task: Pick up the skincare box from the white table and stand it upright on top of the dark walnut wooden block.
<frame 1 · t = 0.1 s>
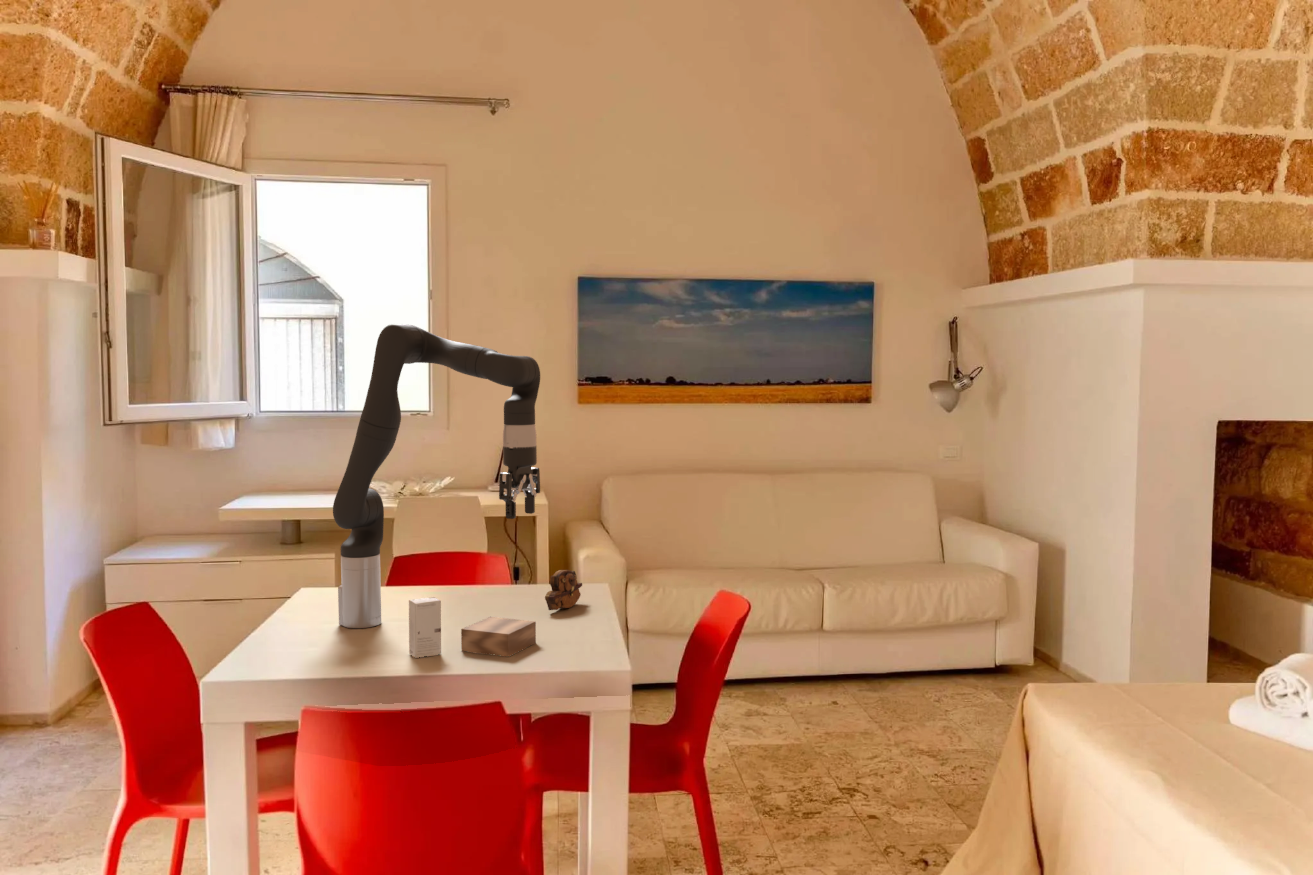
hand: (520, 515, 227), 29 cm above the table, tool pointing down, fingers open, 8 cm apart
skincare box: (425, 655, 220), on the table
wooden carving: (565, 609, 262), on the table
walnut block: (499, 646, 225), on the table
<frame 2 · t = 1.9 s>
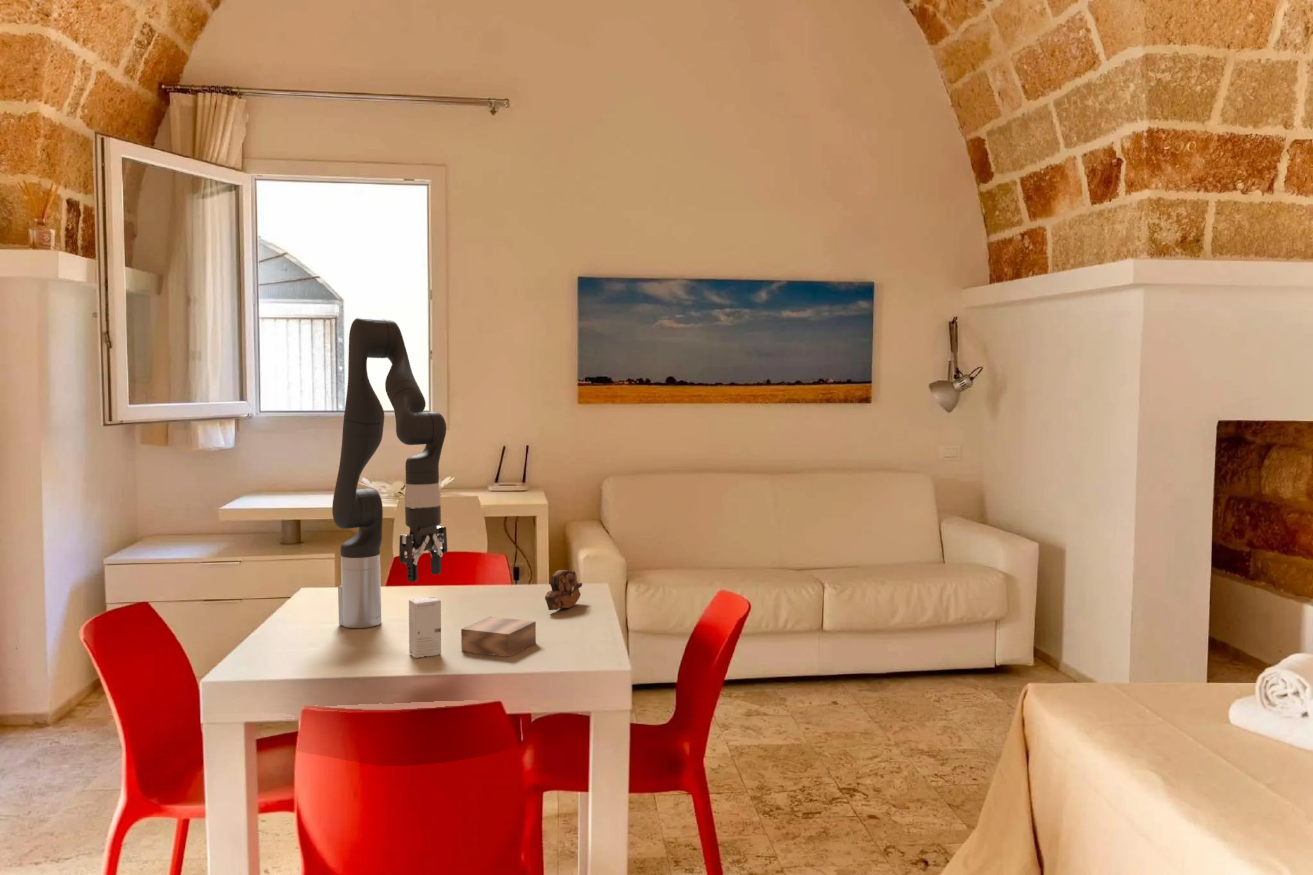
hand: (424, 577, 219), 17 cm above the table, tool pointing down, fingers open, 8 cm apart
nothing on the table moved.
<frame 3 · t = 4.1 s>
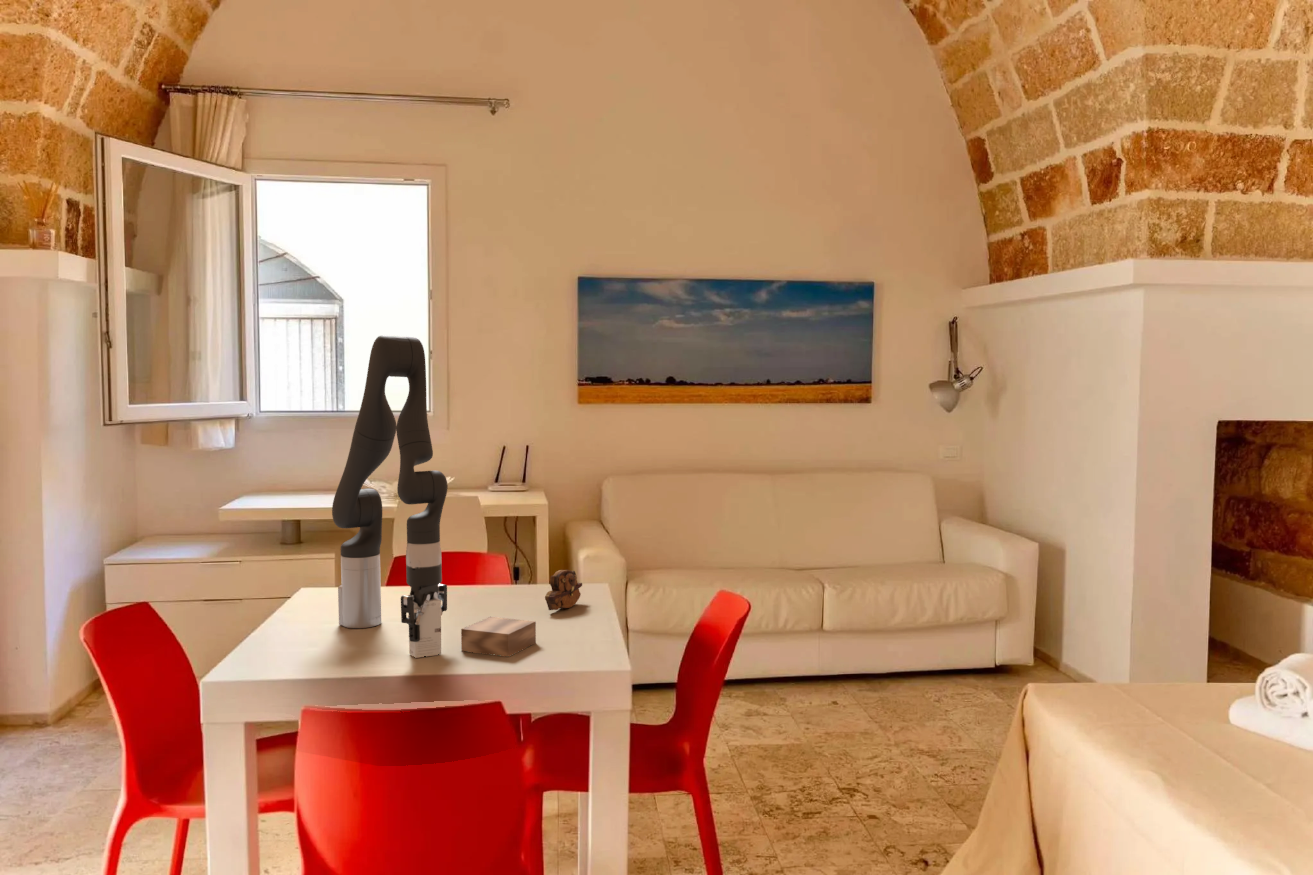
hand: (425, 636, 219), 4 cm above the table, tool pointing down, fingers closed on skincare box, 7 cm apart
skincare box: (425, 655, 220), on the table, touching gripper
everything else where it was.
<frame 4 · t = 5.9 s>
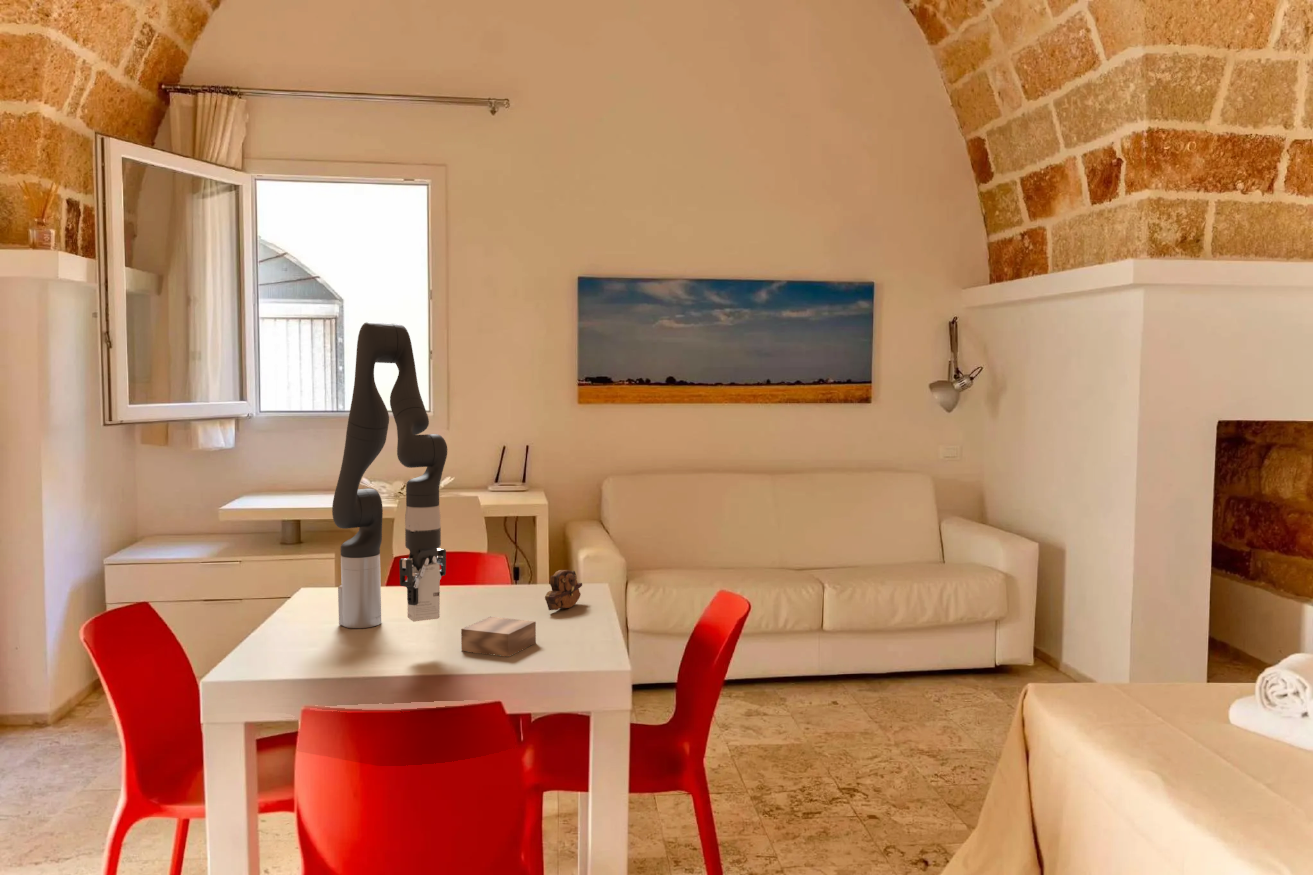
hand: (423, 600, 219), 12 cm above the table, tool pointing down, fingers closed on skincare box, 7 cm apart
skincare box: (423, 619, 219), point 8 cm above the table, touching gripper
everything else where it was.
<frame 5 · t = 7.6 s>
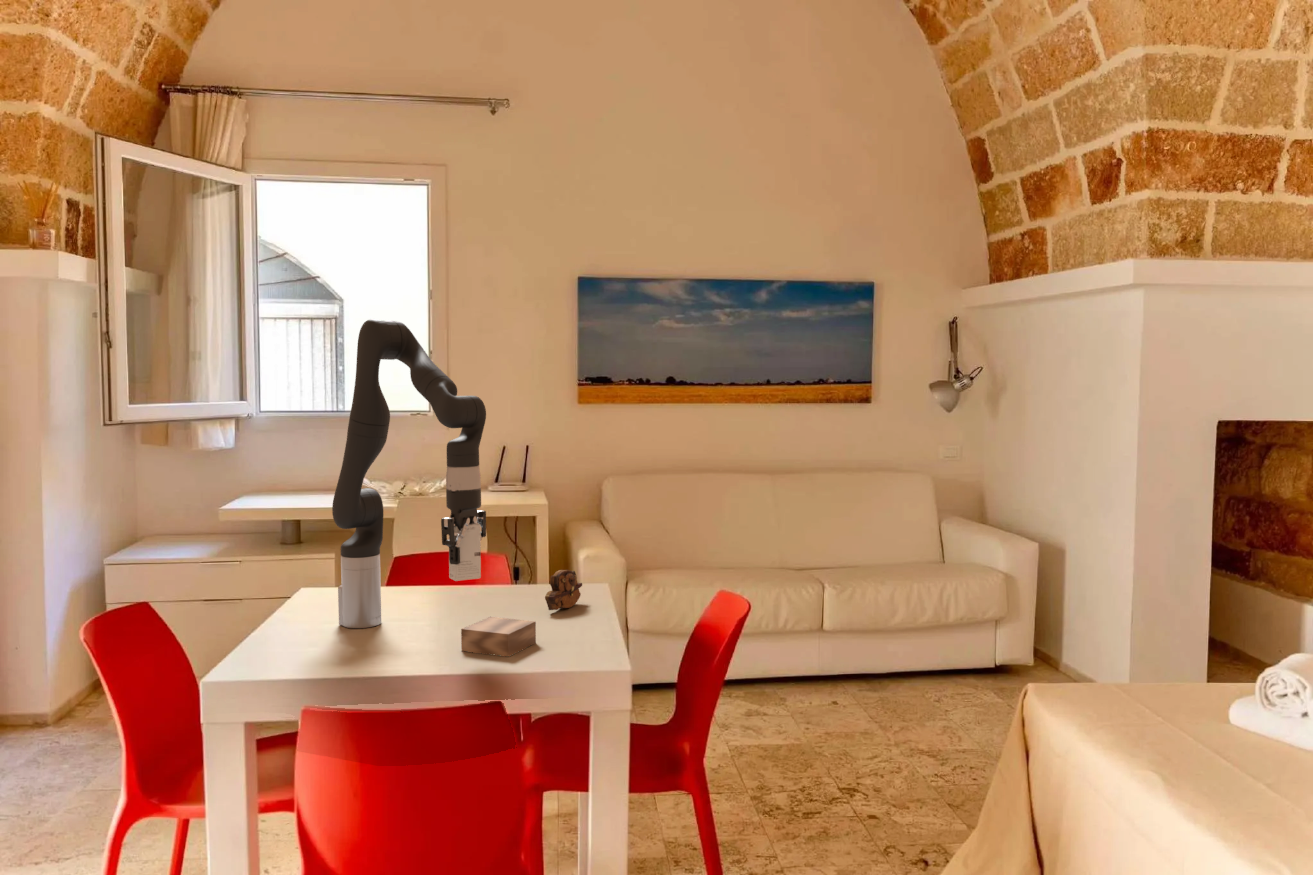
hand: (465, 560, 221), 20 cm above the table, tool pointing down, fingers closed on skincare box, 7 cm apart
skincare box: (465, 579, 221), point 16 cm above the table, touching gripper
everything else where it was.
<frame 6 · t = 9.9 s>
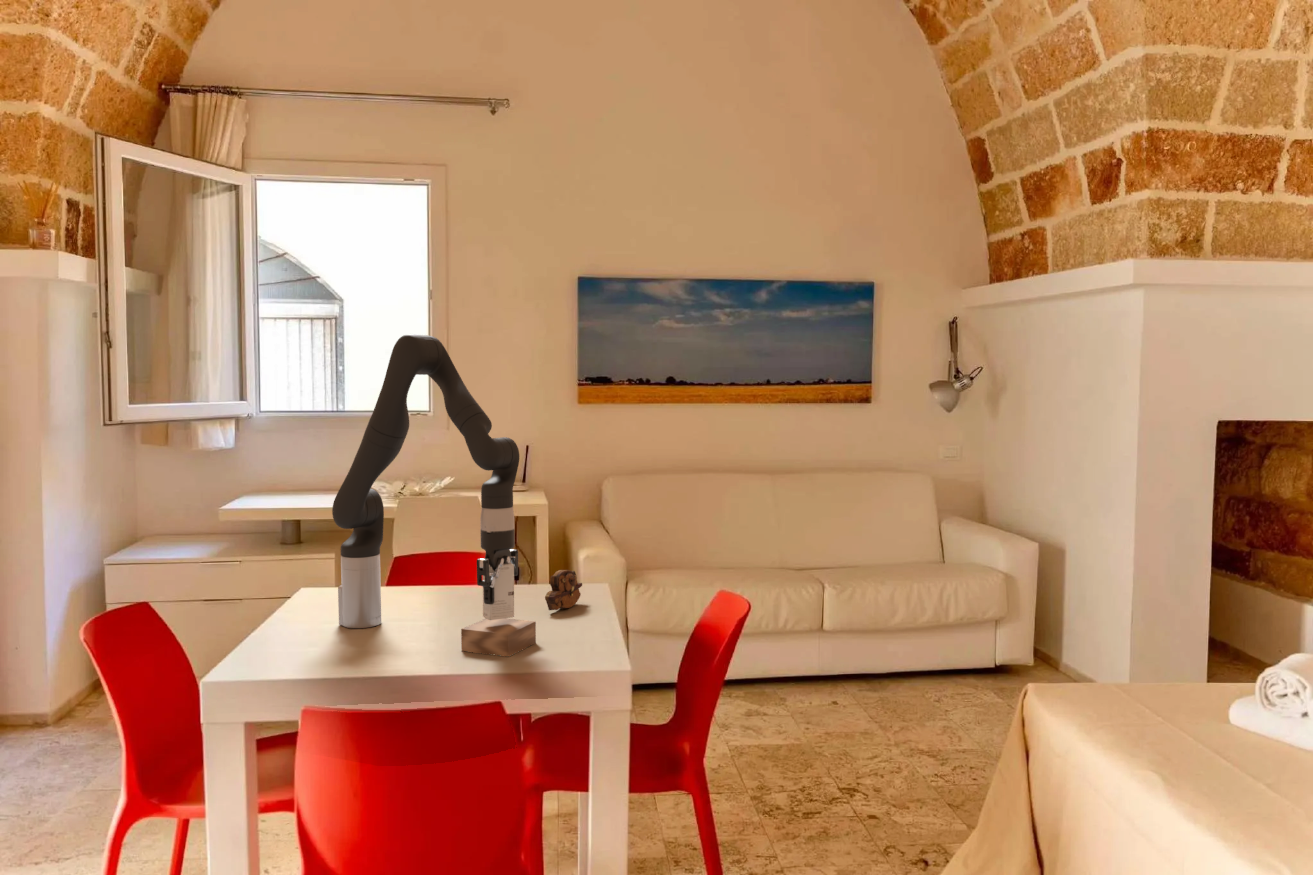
hand: (498, 599, 225), 11 cm above the table, tool pointing down, fingers closed on skincare box, 7 cm apart
skincare box: (498, 617, 225), point 7 cm above the table, touching gripper
everything else where it was.
when the fingers open (10 cm above the table, at t = 11.1 s): skincare box drops 1 cm, resting on walnut block.
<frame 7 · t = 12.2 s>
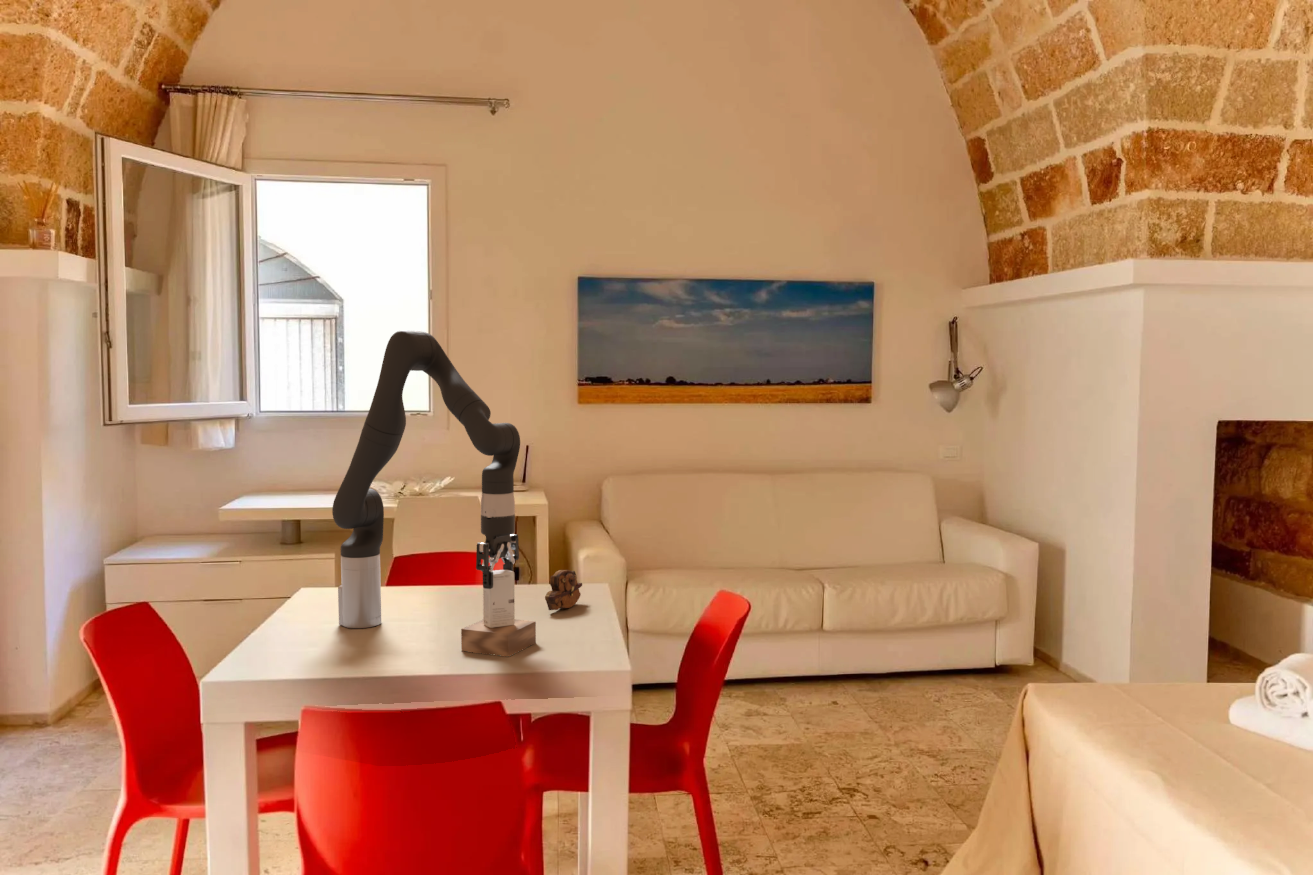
hand: (498, 584, 224), 14 cm above the table, tool pointing down, fingers open, 8 cm apart
skincare box: (499, 625, 225), point 5 cm above the table, touching walnut block
everything else where it was.
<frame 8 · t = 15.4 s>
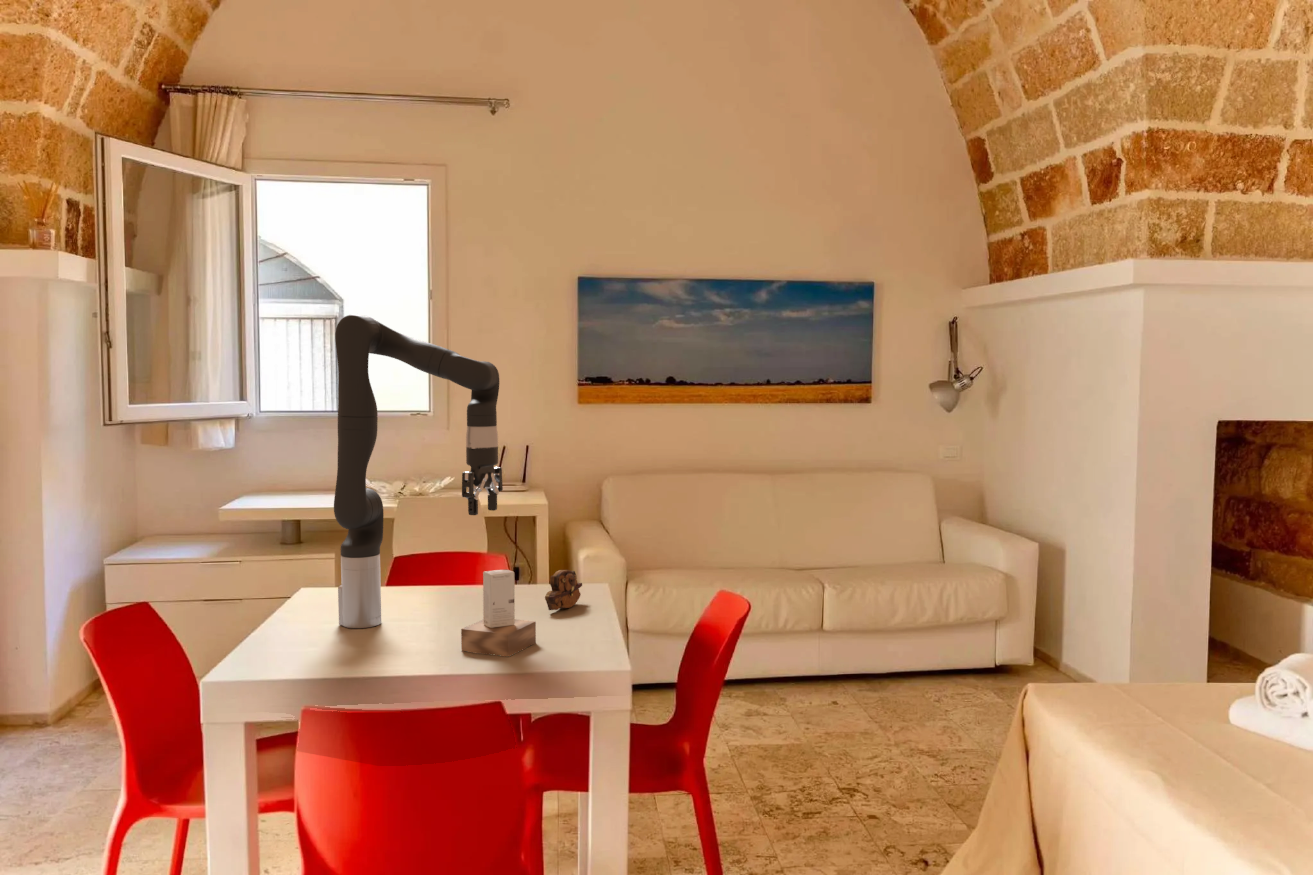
hand: (483, 512, 240), 28 cm above the table, tool pointing down, fingers open, 8 cm apart
nothing on the table moved.
at the end: skincare box inside the target area on the walnut block (0.3 cm from its centre), point 4.8 cm above the walnut block's base; skincare box tilted 0°; skincare box touching walnut block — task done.
